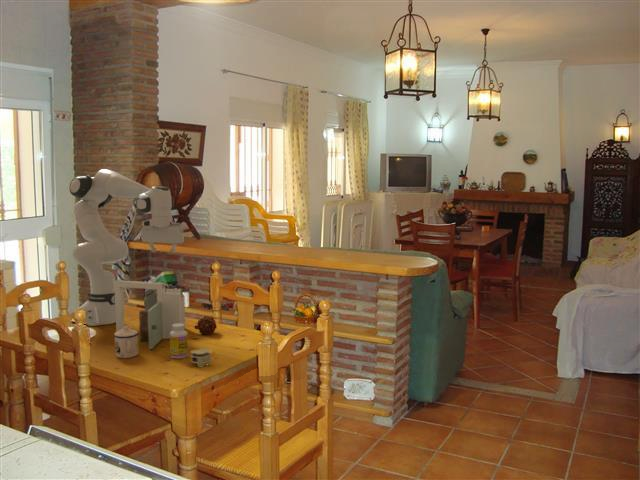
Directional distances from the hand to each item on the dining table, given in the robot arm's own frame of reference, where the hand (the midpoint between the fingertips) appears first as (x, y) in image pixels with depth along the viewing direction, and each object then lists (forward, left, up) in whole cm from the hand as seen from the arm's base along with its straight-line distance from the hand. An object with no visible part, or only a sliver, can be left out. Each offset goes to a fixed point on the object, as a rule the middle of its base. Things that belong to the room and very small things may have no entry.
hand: (163, 252), depth 281 cm
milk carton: (+6, -2, -35) cm, 36 cm away
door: (+10, -24, -35) cm, 43 cm away
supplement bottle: (+27, -36, -35) cm, 57 cm away
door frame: (0, -15, -35) cm, 38 cm away
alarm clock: (-14, +16, -35) cm, 41 cm away
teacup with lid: (+7, -41, -35) cm, 55 cm away
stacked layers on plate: (+40, -42, -36) cm, 68 cm away
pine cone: (+22, -3, -35) cm, 42 cm away
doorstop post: (+3, -21, -35) cm, 41 cm away
